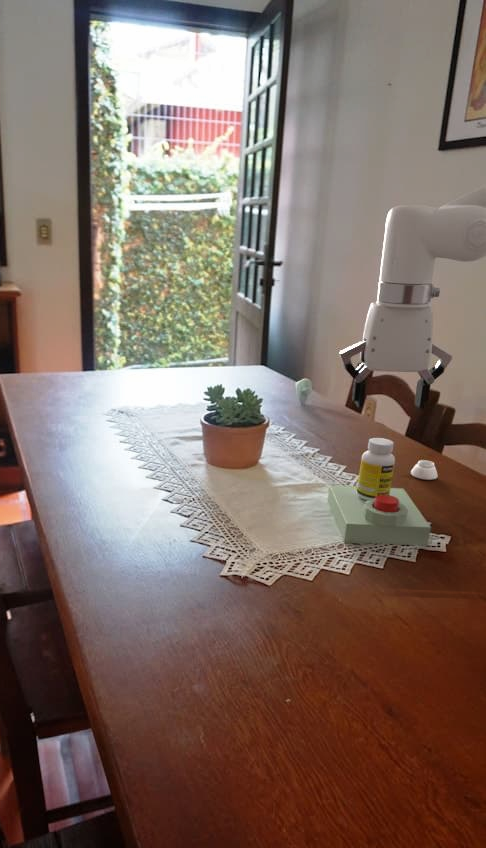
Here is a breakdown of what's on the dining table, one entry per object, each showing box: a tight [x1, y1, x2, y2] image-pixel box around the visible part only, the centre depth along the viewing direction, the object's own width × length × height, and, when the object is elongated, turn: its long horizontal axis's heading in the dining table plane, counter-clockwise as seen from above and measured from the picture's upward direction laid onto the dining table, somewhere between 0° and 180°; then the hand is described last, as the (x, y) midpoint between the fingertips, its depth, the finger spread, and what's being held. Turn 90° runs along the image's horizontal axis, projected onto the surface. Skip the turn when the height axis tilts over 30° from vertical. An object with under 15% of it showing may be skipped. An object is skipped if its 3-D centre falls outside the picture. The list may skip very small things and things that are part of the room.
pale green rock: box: [294, 378, 314, 404], centre depth 182 cm, size 8×4×7 cm, turn 14°
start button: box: [374, 495, 399, 513], centre depth 106 cm, size 4×4×2 cm
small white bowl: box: [410, 459, 439, 481], centre depth 134 cm, size 5×3×5 cm
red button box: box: [327, 484, 432, 546], centre depth 112 cm, size 13×16×5 cm
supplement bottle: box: [356, 437, 396, 501], centre depth 113 cm, size 5×5×10 cm
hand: (388, 406), depth 109 cm, fingers open, 9 cm apart
